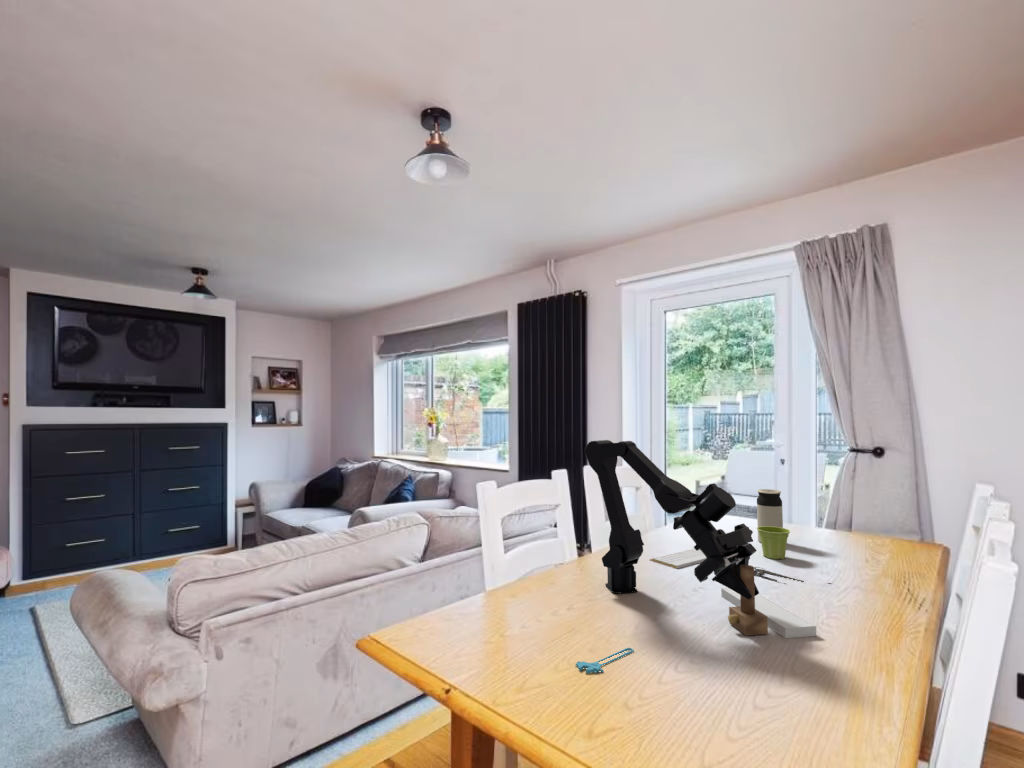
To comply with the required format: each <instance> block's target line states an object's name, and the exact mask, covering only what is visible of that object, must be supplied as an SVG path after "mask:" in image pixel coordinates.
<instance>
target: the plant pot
mask: <svg viewBox="0 0 1024 768" xmlns="http://www.w3.org/2000/svg"><path fill="white" fill-rule="evenodd" d="M756 531H757V532H758V531H759V534H760V539H761V542H760V543H761V548H762V549H761V550H762V555H763V557H766V558H767V559H772V560H779V559H781V560H784V559H785V558H786V554H787V553H786V551H787V544H788V537H789V534H790V533H791V530H790V529H788V528H785V527H783V528H780V527H773V526H761V527H758V526H756Z"/></svg>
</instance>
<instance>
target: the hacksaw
mask: <svg viewBox="0 0 1024 768" xmlns="http://www.w3.org/2000/svg"><path fill="white" fill-rule="evenodd" d="M753 567H754V570H757V571H758V573H754V577H758V578H759V577H760V578H764V579H766V580H771V581H774V582H777V580H778V579H775V578H771V577H768V576H764V575H766V574H768V575H772V576H775V577H779V576H780V578H782V577H784V578H783V579H786V578H789V579H788V580H791V579H793V580H792V581H795V580H797V581H796V582H799V581H801V582H800V583H803V582H804V581H805V580H801V579H797V578H795V577H791V576H787V575H782V574H780V573H775V572H771V571H770V570H766V569H765V568H763V567H759V566H753Z"/></svg>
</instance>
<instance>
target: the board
mask: <svg viewBox="0 0 1024 768" xmlns="http://www.w3.org/2000/svg"><path fill="white" fill-rule="evenodd" d="M720 592H721V597H722V598H723V599H725V600H726V601H728V602H730V603H731V604H733V605H734V606H735V607H738V606H741V600H740V594H738V593H736V592H735V591H733V590H731V589H730V588H728V587H721V591H720ZM755 609H756V610H758V611H759V612H761V613H763V614H764V615H766V616H767V617H768V629H769V628H770V629H771V630H772V631H774V632H776V633H777V634H779V635H780V636H782V637H783V638H784V639H789V638H790V639H793V638H805V637H806V638H807V637H816V636H817V625H815V624H814V623H812V622H810V621H808V620H807V619H805V618H803V617H801V616H800V615H798V614H796V613H795V612H793V611H791V610H789V609H787V608H785V607H784V606H782V605H780V604H779V603H777V602H775V601H773V600H771V599H770V598H767V596H765V595H762V594H761V593H759V594H758V595H756V596H755Z"/></svg>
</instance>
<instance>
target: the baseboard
mask: <svg viewBox="0 0 1024 768" xmlns="http://www.w3.org/2000/svg"><path fill="white" fill-rule="evenodd" d="M705 559H706V556H705V555H704V554H703V552H702V551H701V550H697V551H696V549H695V548H694V547H693V548H690V549H685V550H682V551H681V550H680V551H676V552H672V553H669V554H665V555H659V556H657V557H652V558H649V561H652V562H654V563H657V564H660V565H664V566H667V567H670V568H673V569H676V570H677V569H681V568H684V567H688V566H693V565H695V564H700V563H702V562H703V561H704V560H705Z"/></svg>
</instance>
